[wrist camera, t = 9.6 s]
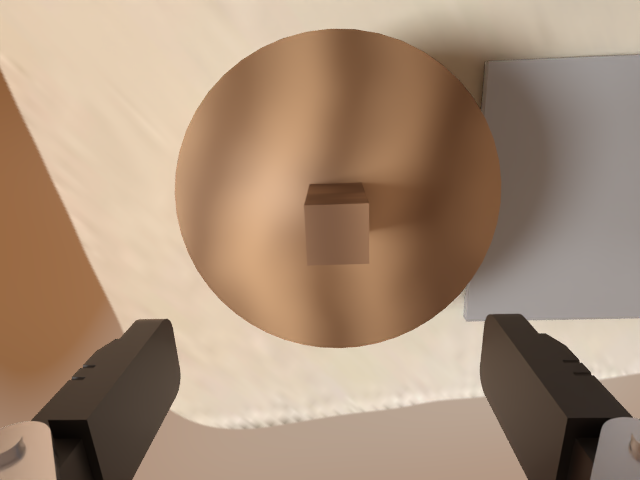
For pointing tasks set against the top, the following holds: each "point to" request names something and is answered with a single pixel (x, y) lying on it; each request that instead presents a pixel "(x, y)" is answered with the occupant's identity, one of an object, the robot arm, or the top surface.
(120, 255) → the top surface
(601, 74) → the mat
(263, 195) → the lid
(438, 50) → the top surface
